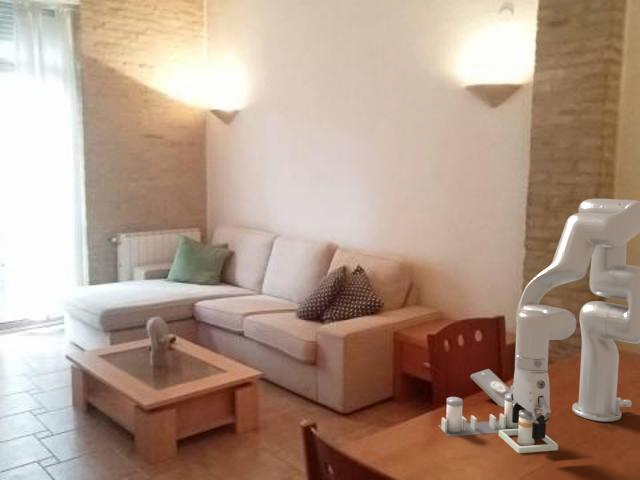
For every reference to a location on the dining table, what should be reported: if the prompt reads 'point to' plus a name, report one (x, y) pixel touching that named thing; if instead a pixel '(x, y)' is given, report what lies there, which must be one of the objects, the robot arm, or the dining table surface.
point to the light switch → (492, 386)
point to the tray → (525, 449)
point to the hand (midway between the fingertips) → (528, 430)
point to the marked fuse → (525, 428)
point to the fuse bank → (475, 420)
